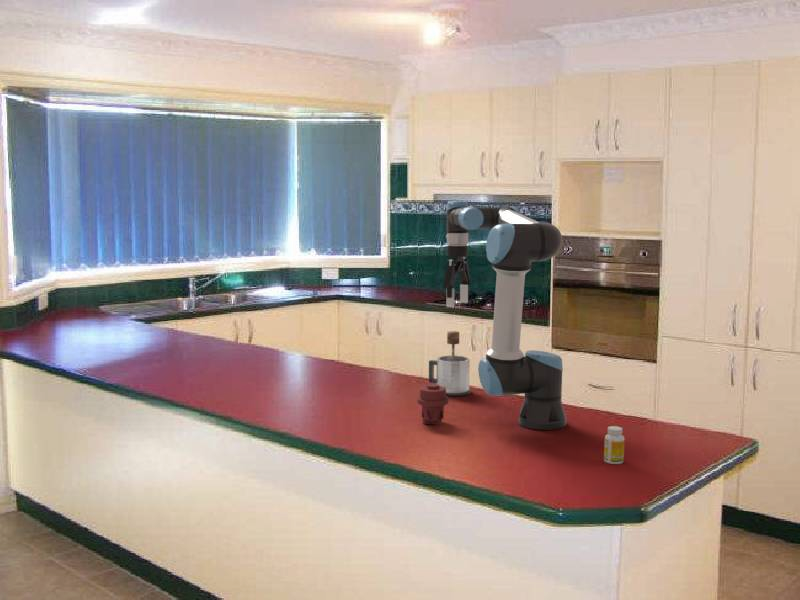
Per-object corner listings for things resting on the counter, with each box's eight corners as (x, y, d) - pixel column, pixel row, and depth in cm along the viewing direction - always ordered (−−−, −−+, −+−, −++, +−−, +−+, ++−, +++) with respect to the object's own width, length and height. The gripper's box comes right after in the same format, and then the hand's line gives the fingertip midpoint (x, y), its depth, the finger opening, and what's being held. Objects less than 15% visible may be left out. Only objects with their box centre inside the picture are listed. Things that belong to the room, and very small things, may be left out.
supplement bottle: (600, 461, 248) (601, 428, 247) (610, 457, 252) (611, 424, 251) (617, 465, 245) (618, 431, 243) (627, 461, 248) (628, 427, 247)
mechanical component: (452, 425, 283) (422, 428, 281) (442, 417, 293) (413, 419, 290) (452, 387, 282) (422, 389, 279) (442, 380, 291) (413, 382, 289)
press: (475, 390, 330) (475, 356, 328) (463, 398, 318) (463, 363, 316) (436, 386, 336) (436, 353, 335) (422, 393, 325) (423, 359, 323)
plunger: (466, 387, 329) (467, 331, 326) (459, 391, 321) (459, 334, 318) (446, 384, 332) (447, 329, 329) (438, 389, 325) (438, 333, 322)
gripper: (459, 242, 328) (459, 300, 330) (434, 246, 305) (434, 308, 308) (479, 243, 325) (479, 301, 327) (454, 247, 302) (454, 309, 305)
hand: (457, 304), depth 318 cm, fingers open, 13 cm apart
